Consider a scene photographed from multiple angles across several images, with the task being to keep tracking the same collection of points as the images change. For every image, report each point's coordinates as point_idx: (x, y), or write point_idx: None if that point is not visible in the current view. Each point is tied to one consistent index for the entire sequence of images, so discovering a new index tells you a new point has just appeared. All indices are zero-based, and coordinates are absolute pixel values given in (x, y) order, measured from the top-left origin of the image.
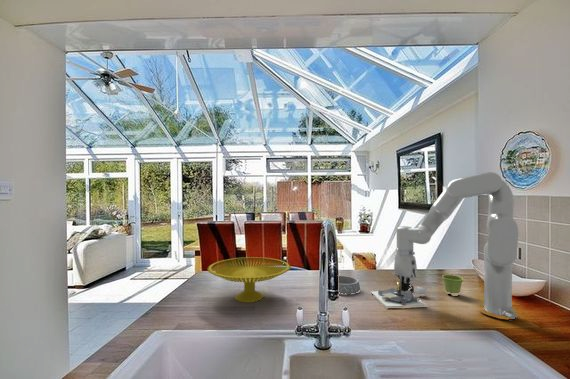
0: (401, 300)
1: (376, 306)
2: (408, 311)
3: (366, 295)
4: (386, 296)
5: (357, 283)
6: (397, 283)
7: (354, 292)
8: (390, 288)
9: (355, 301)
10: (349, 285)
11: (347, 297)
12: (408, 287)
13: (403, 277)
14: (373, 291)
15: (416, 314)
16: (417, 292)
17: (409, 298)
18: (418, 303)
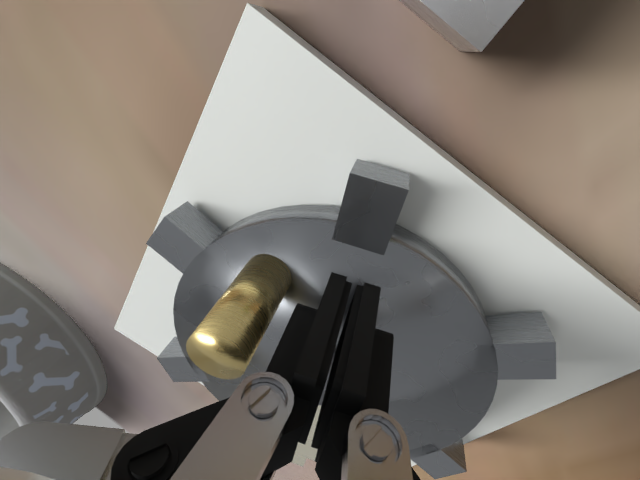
0: (430, 472)
1: (306, 458)
2: (502, 452)
3: (143, 352)
4: (297, 451)
5: (11, 390)
6: (212, 364)
7: (92, 381)
8: (155, 247)
9: None
10: None
11: (133, 422)
12: (392, 352)
13: (218, 466)
14: (119, 316)
15: (574, 471)
16: (455, 41)
17: (474, 413)
18: (562, 359)
